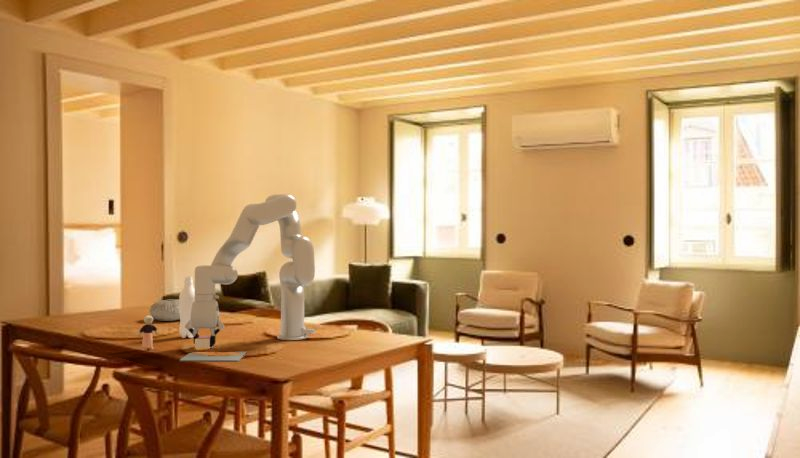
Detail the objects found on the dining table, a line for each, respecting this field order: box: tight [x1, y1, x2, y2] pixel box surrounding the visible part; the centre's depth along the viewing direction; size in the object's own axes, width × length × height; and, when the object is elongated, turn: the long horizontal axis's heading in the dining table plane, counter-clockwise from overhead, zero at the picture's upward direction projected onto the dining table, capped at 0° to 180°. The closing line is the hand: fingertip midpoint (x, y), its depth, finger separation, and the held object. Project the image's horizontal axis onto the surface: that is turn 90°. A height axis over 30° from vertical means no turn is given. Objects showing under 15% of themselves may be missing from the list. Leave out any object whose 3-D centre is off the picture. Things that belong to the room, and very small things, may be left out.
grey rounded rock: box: [149, 298, 180, 322], centre depth 310 cm, size 18×18×10 cm
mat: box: [179, 351, 247, 363], centre depth 228 cm, size 20×14×1 cm
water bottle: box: [178, 276, 195, 339], centre depth 266 cm, size 7×7×25 cm
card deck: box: [194, 335, 211, 349], centre depth 244 cm, size 5×8×4 cm, turn 1°
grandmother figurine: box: [137, 314, 159, 351], centre depth 241 cm, size 8×4×13 cm, turn 148°
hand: (204, 345), depth 244 cm, fingers open, 5 cm apart
